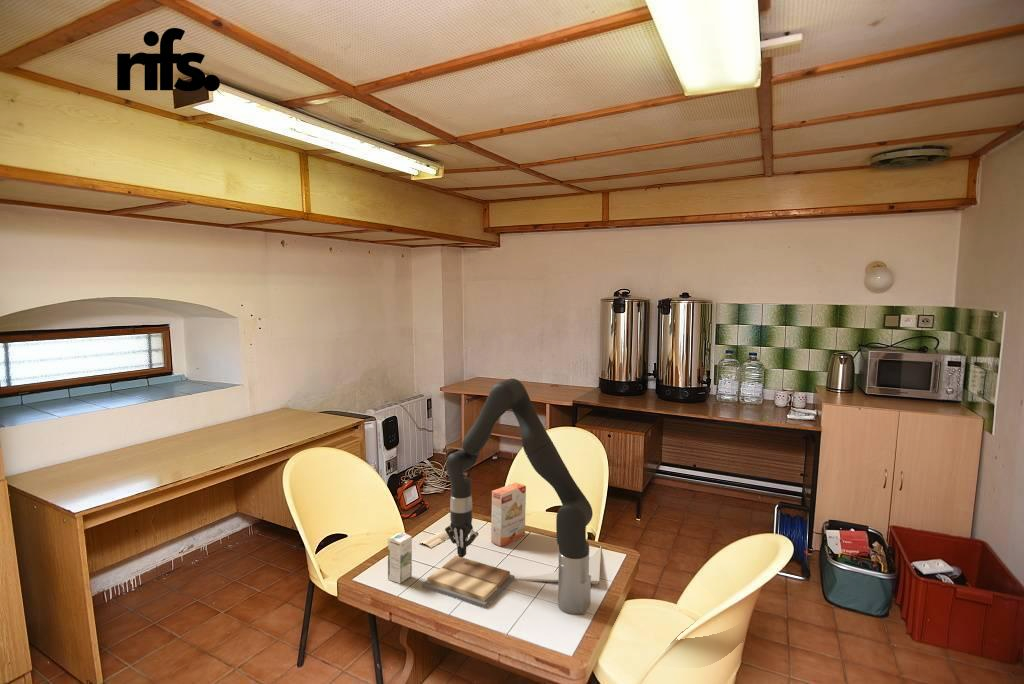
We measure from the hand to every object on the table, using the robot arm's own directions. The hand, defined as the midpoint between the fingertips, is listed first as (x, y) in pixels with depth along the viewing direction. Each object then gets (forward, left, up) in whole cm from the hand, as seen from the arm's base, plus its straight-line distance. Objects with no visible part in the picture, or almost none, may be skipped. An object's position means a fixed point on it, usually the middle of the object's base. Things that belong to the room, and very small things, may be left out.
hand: (461, 556), depth 179 cm
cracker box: (-3, -28, -5) cm, 29 cm away
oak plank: (-7, +10, -4) cm, 13 cm away
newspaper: (+21, -19, -6) cm, 29 cm away
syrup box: (+15, +15, -5) cm, 22 cm away
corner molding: (-27, -22, -6) cm, 35 cm away
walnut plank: (-7, +2, -4) cm, 8 cm away
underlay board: (-7, +6, -5) cm, 10 cm away
